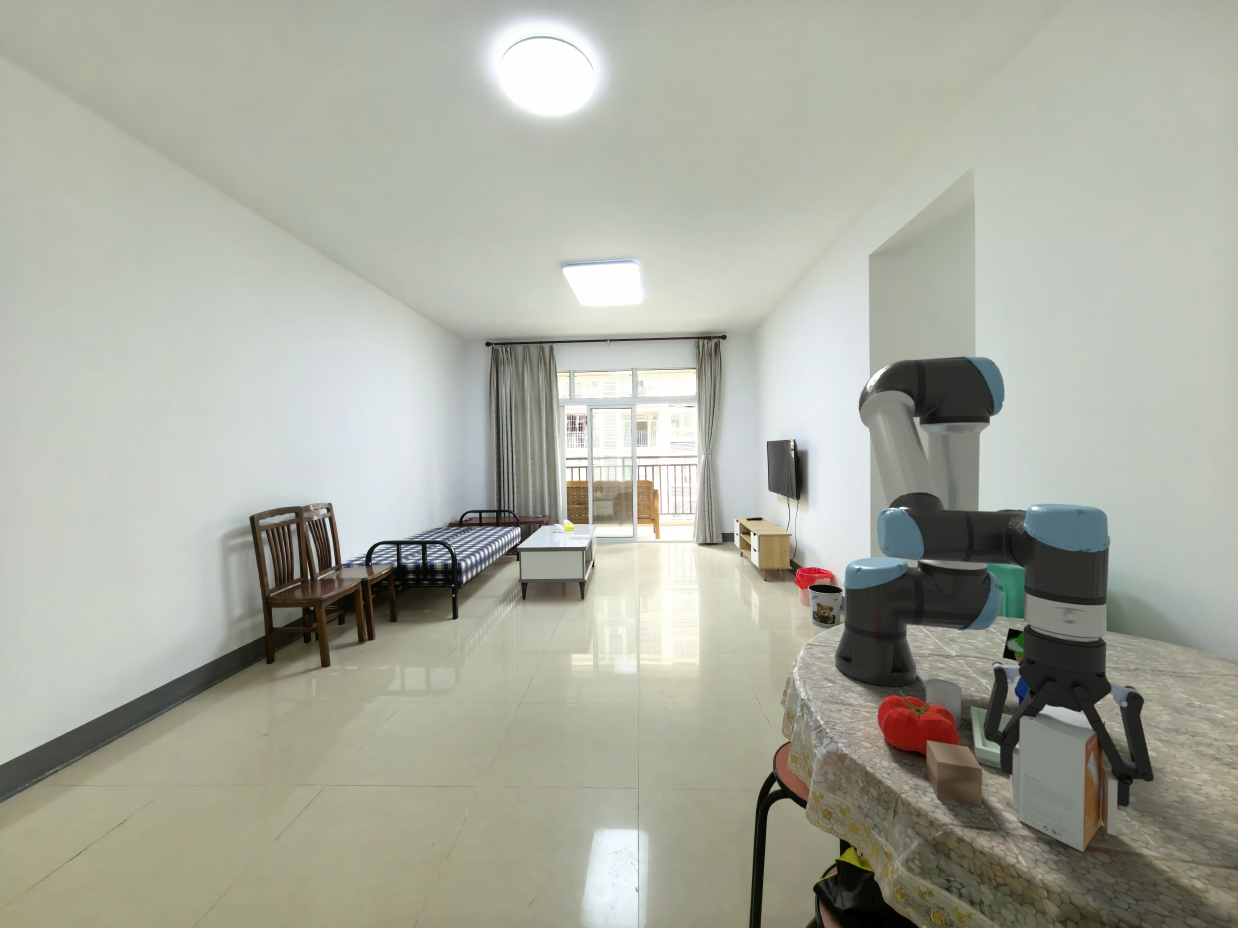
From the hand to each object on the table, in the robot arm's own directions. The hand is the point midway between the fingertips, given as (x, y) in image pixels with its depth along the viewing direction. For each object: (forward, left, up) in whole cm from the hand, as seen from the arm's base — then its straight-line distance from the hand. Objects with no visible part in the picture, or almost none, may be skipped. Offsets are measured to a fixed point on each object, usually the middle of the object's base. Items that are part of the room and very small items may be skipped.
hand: (1059, 811), depth 61 cm
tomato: (-15, +9, -2) cm, 18 cm away
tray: (-1, +16, -1) cm, 16 cm away
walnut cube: (-11, 0, -1) cm, 11 cm away
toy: (+2, +31, -1) cm, 31 cm away
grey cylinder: (-12, +20, -1) cm, 23 cm away
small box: (0, 0, -1) cm, 1 cm away
